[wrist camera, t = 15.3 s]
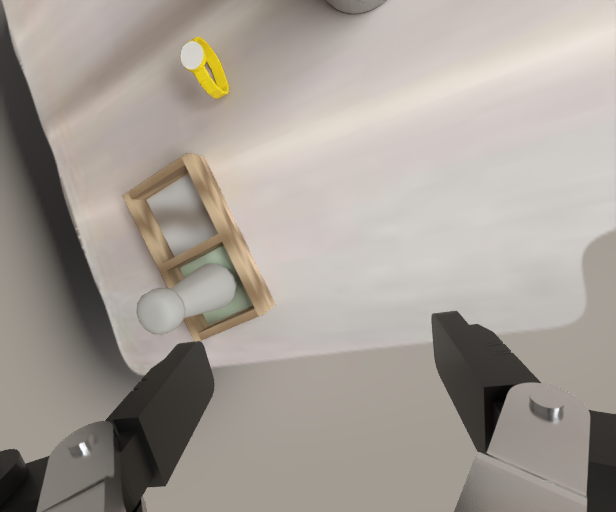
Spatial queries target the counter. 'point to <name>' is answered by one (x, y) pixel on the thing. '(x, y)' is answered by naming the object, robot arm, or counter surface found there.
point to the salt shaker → (186, 298)
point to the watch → (195, 61)
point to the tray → (197, 239)
